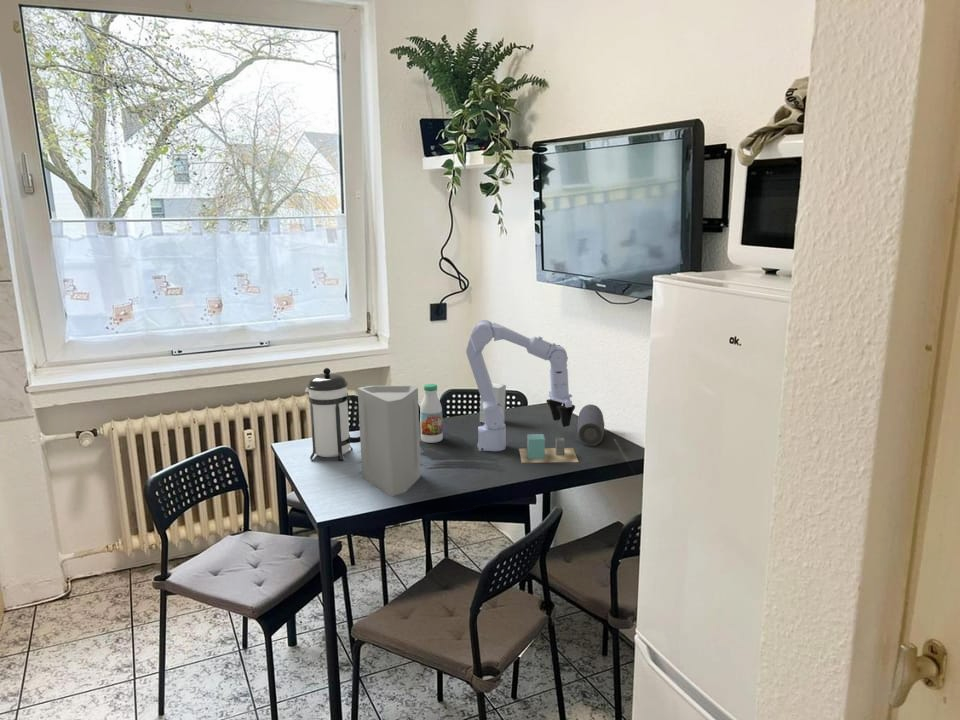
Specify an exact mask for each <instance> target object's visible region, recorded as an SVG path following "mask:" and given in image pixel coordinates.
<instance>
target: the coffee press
mask: <svg viewBox="0 0 960 720" xmlns="http://www.w3.org/2000/svg"><path fill="white" fill-rule="evenodd" d="M322 372H323V373H322V374H318V375H316V376H313V377H312V378H311V379H310V380H309V382H308V383H307V387H306V388H305V390H304V392H305V393H308V394H309V395H308V402H309V411H310V424H311V438H312V442H311V443H312V453H311V455H310V457H309V459H310V460H311V461H312V462H315V461H316V460H317V459H318V458H319V457H323V458H334V457H336V458H337V460H338V462H339V463H340V462H345V457H344V455H345V454H346V453H348V452H349V453H351V452H353V447H352V446H351V444H357V443H360V436H357V437H354V436H353V437H351V435H350V427H349V426H350V425H349V422H350V421H349V407H348V405H349V404H348V401H352V402H356V403H357V404H358V405H359V403H358V395H355V394H352V395H349V393H348V384H349V383H348V381H347V380H346V378H345V377H344V376H343V375H341V374H337V373H331V370H330V368H328V367H325V368H323V371H322Z"/></svg>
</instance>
